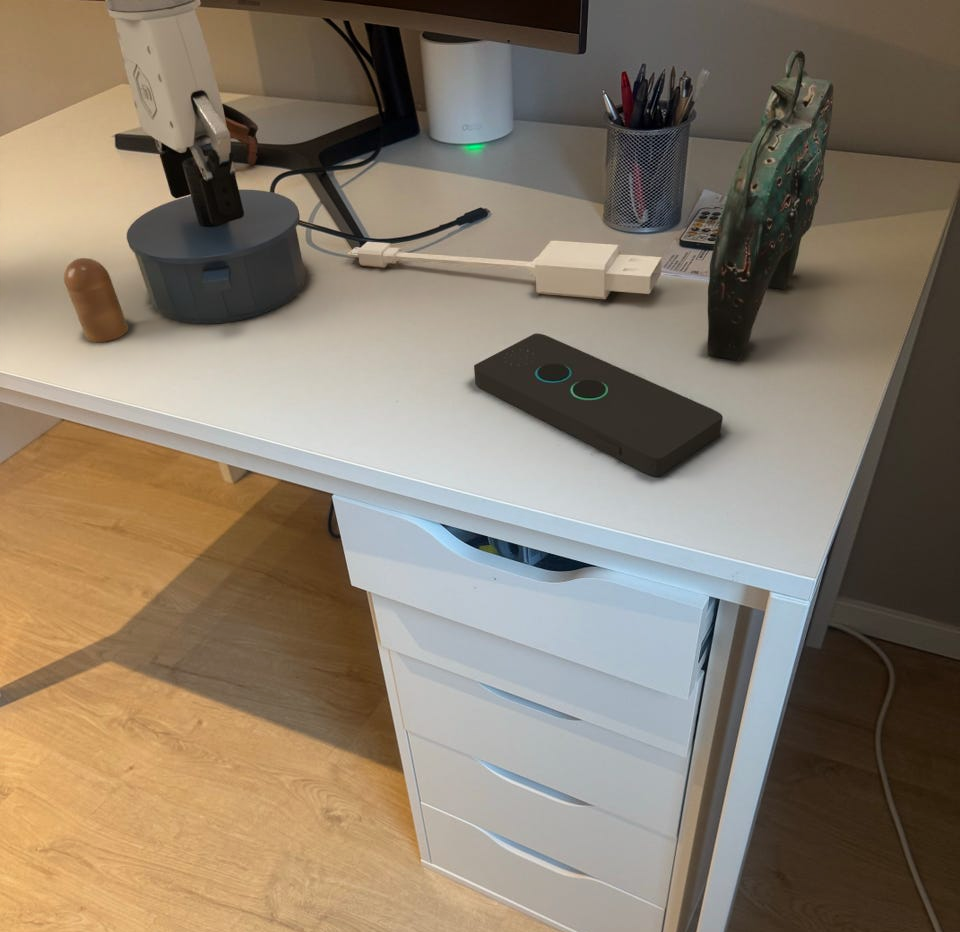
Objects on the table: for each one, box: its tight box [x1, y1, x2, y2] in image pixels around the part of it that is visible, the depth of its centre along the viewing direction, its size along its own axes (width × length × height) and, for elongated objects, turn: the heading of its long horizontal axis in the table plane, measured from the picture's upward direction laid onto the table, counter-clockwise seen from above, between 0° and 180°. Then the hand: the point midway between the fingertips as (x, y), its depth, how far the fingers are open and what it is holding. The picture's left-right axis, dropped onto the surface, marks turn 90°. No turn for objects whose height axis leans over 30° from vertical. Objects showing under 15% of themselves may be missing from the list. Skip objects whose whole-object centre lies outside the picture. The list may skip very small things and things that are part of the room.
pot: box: [134, 227, 306, 325], centre depth 90 cm, size 16×21×6 cm
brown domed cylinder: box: [63, 257, 129, 343], centre depth 84 cm, size 4×4×7 cm
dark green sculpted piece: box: [706, 49, 834, 361], centre depth 75 cm, size 20×6×20 cm, turn 152°
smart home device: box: [473, 332, 724, 477], centre depth 72 cm, size 8×2×20 cm
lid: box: [126, 156, 301, 264], centre depth 86 cm, size 17×17×7 cm
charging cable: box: [346, 240, 663, 300], centre depth 89 cm, size 5×32×3 cm, turn 68°
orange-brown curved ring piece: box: [194, 103, 259, 166], centre depth 116 cm, size 12×10×8 cm
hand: (207, 206), depth 87 cm, fingers open, 8 cm apart
